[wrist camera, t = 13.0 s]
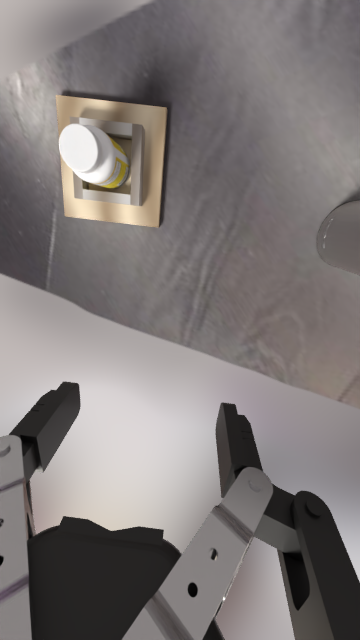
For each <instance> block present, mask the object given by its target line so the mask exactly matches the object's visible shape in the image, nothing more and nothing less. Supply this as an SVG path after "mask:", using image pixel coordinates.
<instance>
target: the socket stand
mask: <svg viewBox="0 0 360 640" xmlns="http://www.w3.org/2000/svg"><path fill="white" fill-rule="evenodd" d="M56 105H57V118H58V131H59V138H60V135H61V132H62V131H63V129H64V128H65V127H66V126H68V125H70V124H81V125H92V126H95V127H97V128H99V129H101V130H102V131H103V132H105V133H106V134H107V135H108V136H109V137H110V138H111V139H113V140H114V141H115V142H116V143H117V144H118V145H119V146H121V147H122V149H123V150H124V151H125V152H126V154H127V156H128V158H129V162H130V174H129V177H128V179H127V181H126V182H125V183H124V184H123V185H122V186H121V187H119V188H115V189H111V188H106V187H102V186H99V185H96V184H92V183H89V182H86V181H84V180H82V179H81V178H80V177H78V176H77V175H76V174H75V173H74V171H73V170H72V168H70V167H69V166H68V165H67V164H66V163H65V161H64V160H63V158H62V156H61V153H60V157H61V170H62V183H63V196H64V209H65V216H67V217H76V218H84V219H92V220H100V221H109V222H117V223H125V224H134V225H142V226H150V227H159V224H160V210H161V196H162V181H163V167H164V153H165V139H166V124H167V108H166V107H158V106H149V105H140V104H131V103H123V102H114V101H105V100H96V99H87V98H79V97H70V96H61V95H56Z"/></svg>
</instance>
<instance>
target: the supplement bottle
mask: <svg viewBox="0 0 360 640" xmlns="http://www.w3.org/2000/svg"><path fill="white" fill-rule="evenodd" d="M59 150H60V153H61V156H62V158H63V160H64V161H65V163H66V164H67V165H68V166H69V167H70V168H72V170H73V171H74V173H75V174H76V175H77V176H78V177H80V178H81V179H82V180H84V181H86V182H89V183H92V184H96V185H99V186H102V187H106V188H111V189H115V188H119V187H121V186H122V185H123V184H124V183H125V182H126V181H127V179H128V177H129V174H130V162H129V158H128V156H127V154H126V152H125V151H124V150H123V149H122V147H121V146H119V145H118V144H117V143H116V142H115V141H114V140H113V139H111V138H110V137H109V136H108V135H107V134H106V133H105V132H103V131H102V130H101V129H99V128H97V127H95V126H92V125H81V124H70V125H68V126H66V127H65V128H64V129H63V131H62V132H61V135H60V138H59Z"/></svg>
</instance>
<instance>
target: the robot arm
mask: <svg viewBox="0 0 360 640" xmlns="http://www.w3.org/2000/svg"><path fill="white" fill-rule="evenodd" d="M317 248H318V252H319V254H320V256H321V258H322V259H323V260H324V261H325V262H327V263H328V264H330V265H332V266H335V267H338V268H341V269H343V270H346V271H349V272H352V273H355V274H357V275H360V200H358V201H351V202H348V203H345V204H343V205H341V206H339V207H338V208H336V209H335V210H334V211H332V212H331V213H330V214H329V215H328V216H327V218H326V219H325V220H324V222H323V223H322V225H321V227H320V230H319V232H318V237H317ZM79 410H80V392H79V384H78V383H71V382H63V383H62V384H61V385H60V386H59V387H58V389H57V390H51V391H49V392H48V393H46V394H45V395H43V396H42V397H41V398H40V399H39V401H38V402H37V403H36V405H34V406H33V407H32V409H31V410H30V411H29V412H28V413H27V414H26V415H25V417H24V418H23V419H22V420H21V421H20V422H19V423H18V425H17V426H16V427H15V428H14V429H13V430H12V432H11V433H10V434H9V435H7V436H3V437H0V640H225V639H224V637H223V635H222V633H221V631H220V629H219V627H218V625H217V623H216V618H217V615H218V613H219V611H220V609H221V607H222V605H223V603H224V601H225V598H226V596H227V594H228V592H229V590H230V587H231V585H232V583H233V581H234V579H235V576H236V574H237V572H238V570H239V567H240V566H241V564H242V561H243V559H244V557H245V555H246V553H247V551H248V549H249V546H250V544H251V542H252V540H253V538H254V537H256V538H258V539H260V540H262V541H264V542H266V543H267V544H269V545H271V546H273V547H275V548H277V551H278V556H279V561H280V566H281V571H282V576H283V581H284V586H285V591H286V596H287V601H288V606H289V611H290V616H291V621H292V626H293V631H294V636H295V640H360V582H359V580H358V578H357V575H356V573H355V570H354V568H353V565H352V563H351V560H350V558H349V555H348V553H347V550H346V548H345V546H344V543H343V541H342V538H341V536H340V533H339V531H338V529H337V526H336V524H335V521H334V519H333V516H332V514H331V512H330V510H329V508H328V507H327V505H326V504H325V503H324V502H323V501H322V500H321V499H320V498H319V497H318V496H316V495H315V494H313V493H311V492H308V491H300V492H298V493H297V494H296V495H293V494H290V493H288V492H286V491H284V490H282V489H280V488H278V487H276V486H275V485H274V484H272V483H271V481H270V479H269V478H268V476H267V475H266V474H265V473H264V472H263V469H262V466H261V462H260V458H259V455H258V451H257V447H256V444H255V441H254V436H253V434H252V428H251V425H250V423H249V421H248V420H247V418H246V417H245V416H244V415H238V414H237V409H236V405H235V404H229V403H221V405H220V410H219V414H218V418H217V423H216V443H217V453H218V464H219V475H220V485H221V497H222V498H223V500H222V501H221V503H220V504H219V505H218V506H215V507H214V508H213V510H212V511H211V512H210V514H209V516H208V517H207V518H206V520H205V521H204V523H203V524H202V526H201V527H200V529H199V531H198V532H197V533H196V535H195V536H194V538H193V539H192V541H191V542H190V544H189V545H188V547H187V548H186V550H185V551H184V552H183V554H181V553H180V552H179V550H178V549H177V548H176V547H175V546H174V545H172V544H171V543H170V542H168V541H166V540H164V539H163V531H164V530H161V529H153V528H146V527H133V528H128V529H122V530H117V531H110V530H108V529H105V528H104V527H102V526H100V525H98V524H96V523H94V522H92V521H90V520H88V519H80V518H73V517H66V516H64V517H63V519H62V521H61V523H60V525H59V526H55V527H51V528H48V529H46V530H44V531H42V532H40V533H38V534H36V532H35V525H34V518H33V508H32V496H31V486H30V478H31V476H32V475H33V473H34V472H40V473H43V472H44V471H45V469H46V467H47V465H48V464H49V462H50V460H51V459H52V457H53V456H54V454H55V452H56V451H57V449H58V447H59V446H60V444H61V442H62V441H63V439H64V437H65V436H66V434H67V432H68V431H69V429H70V427H71V426H72V424H73V422H74V421H75V419H76V417H77V416H78V413H79Z"/></svg>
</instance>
